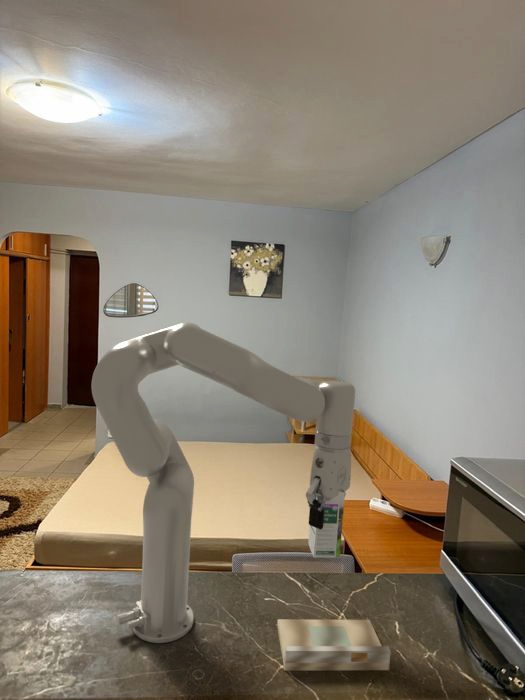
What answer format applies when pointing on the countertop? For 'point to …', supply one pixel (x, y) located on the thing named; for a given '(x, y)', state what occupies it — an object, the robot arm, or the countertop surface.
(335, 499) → the syrup box
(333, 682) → the countertop surface
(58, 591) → the countertop surface
